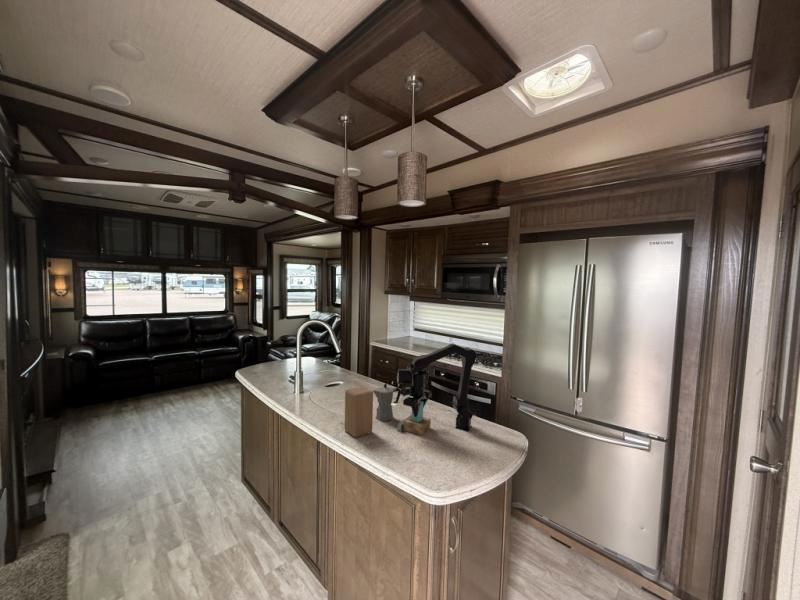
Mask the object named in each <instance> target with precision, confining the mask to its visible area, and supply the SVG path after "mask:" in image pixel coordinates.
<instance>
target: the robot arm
mask: <svg viewBox="0 0 800 600" xmlns="http://www.w3.org/2000/svg"><path fill="white" fill-rule="evenodd" d="M452 354H456V355H459V356H460V360H461V372H460V378H459V379H460V380H459V384H458V391H457V394H456V395H453V396H452V402H451V404H452V407H453V409H454V410H455V411H456V413H457V414H456V418H455V429H457V430H460V431H461V430H462V431H463V432H469V431H470V430H471V428H473V426H472V419H473V416H474V415H473V413H472V412H471V411H470V410H469V400H468V399H469V398H468V392H469V386H470V381H471V379H470V378H471V374H472V368H473V366H474V365H475V363H476V360H477V355H478V353H477V352H476V350H474V349H472V348H470V347H462V346H460V345H458V344H456V343H450V344H448V345H446V346H444V347H441V348H439V349H437V350H434V351H433V352H430V353H428V354H427V353H426V354H420V355H418V356H415V357H413V358H412V360H411V361H412V362H411V364H409V366H408V367H407V369H406V368H405V369H403V368H398V370H397V375H396V383H397V384H398V385H400V384H401V385H404V384H406V385H408V384H411V383H412V384H411V385H410V386H407V387H402V388H401V389H400V390H401V392H400V393H401V395H400V396H402V397H405V396H406V398H404V399H403V401H402V405H403V406H407V407H410V408H411V411H412V410H413V414H414V416H415V417H417V414H418V411H419V408H420V405H421V404H419V401H423V409H424V408H425V406H426V404H427V402H428V401H429V398H430V399H431V397H432V396H433V395H432V394H433V392H432V391H431V390H429V389H426V387H427V385H426V384H425V375H426V376H427V375H429V374H430V373H429V371H428V370H427V369H426V368H428V367H429V366H430V365H432V363H435V362H436V361H439V360H442V359H443V358H446V357H448V356H450V355H452ZM426 396H427V398H426Z"/></svg>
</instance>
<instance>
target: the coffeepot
mask: <svg viewBox="0 0 800 600" xmlns="http://www.w3.org/2000/svg"><path fill="white" fill-rule="evenodd" d="M372 391H373V394H374V395H375V396H376V399H377V403H378V405H377V410H376V411H377V412H376V416H375V418H376V420H377V421H379V422H391V421H392V420H393V419H394V413H393V406H392V402H393V403H394V404H398V402H399V399H400V397H401V396H402V395H401V393H400V392H401V389H400V387H388V384H386V383H384V384H383V386H381V387H378V388H377V389H374V390H372ZM396 392H397V395H396V399H395V401H393V398H394V397H393V396H394V393H396Z"/></svg>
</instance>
